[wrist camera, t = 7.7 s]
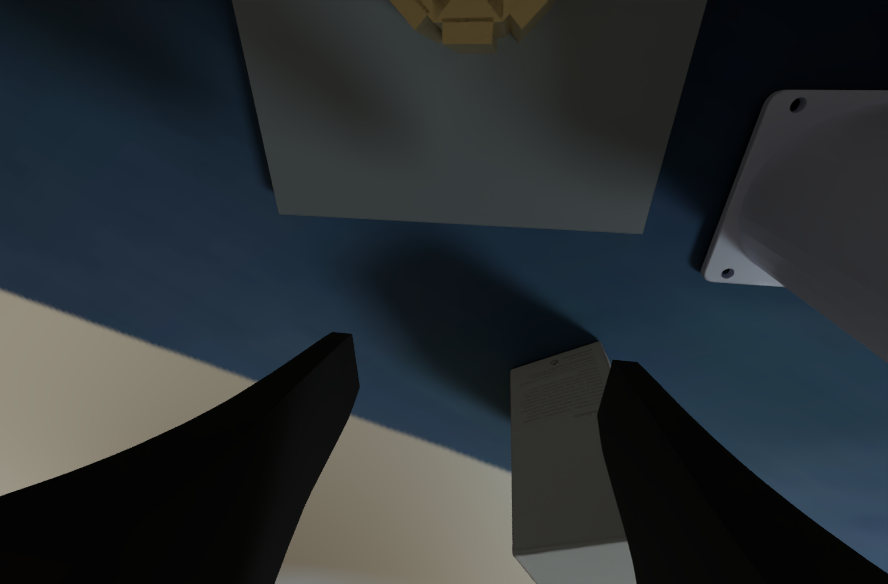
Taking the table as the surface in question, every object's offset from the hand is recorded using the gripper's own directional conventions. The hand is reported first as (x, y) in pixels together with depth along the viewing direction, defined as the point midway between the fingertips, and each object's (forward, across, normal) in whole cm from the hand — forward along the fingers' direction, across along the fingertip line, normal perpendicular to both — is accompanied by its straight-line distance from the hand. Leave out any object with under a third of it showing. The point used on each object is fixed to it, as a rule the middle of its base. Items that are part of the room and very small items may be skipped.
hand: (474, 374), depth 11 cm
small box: (+10, -6, +10) cm, 15 cm away
